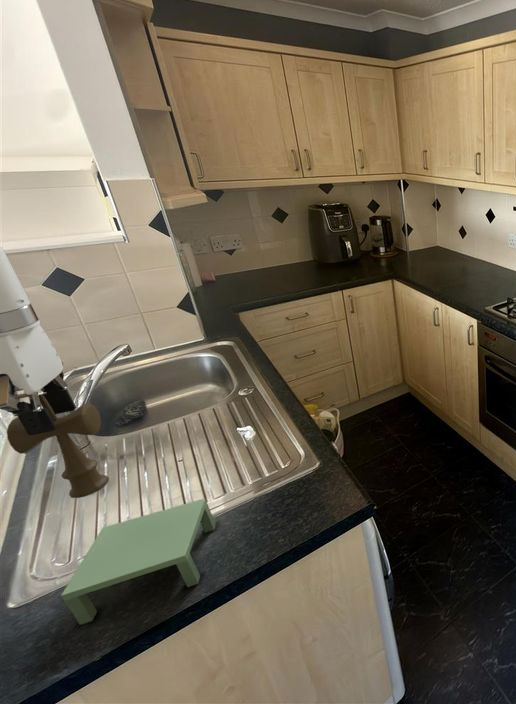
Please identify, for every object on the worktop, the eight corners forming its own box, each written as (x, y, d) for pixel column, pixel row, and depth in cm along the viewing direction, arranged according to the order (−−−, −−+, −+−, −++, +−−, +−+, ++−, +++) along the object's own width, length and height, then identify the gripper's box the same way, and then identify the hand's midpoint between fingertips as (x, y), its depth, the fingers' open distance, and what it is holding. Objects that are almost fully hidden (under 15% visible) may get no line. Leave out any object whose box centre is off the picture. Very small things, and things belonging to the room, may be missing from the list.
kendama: (62, 489, 74) (8, 394, 66) (130, 469, 78) (86, 378, 71) (47, 512, 69) (-14, 412, 62) (120, 489, 73) (71, 394, 66)
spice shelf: (79, 625, 65) (60, 595, 63) (117, 554, 77) (102, 527, 75) (198, 583, 71) (184, 555, 69) (215, 524, 83) (205, 498, 81)
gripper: (3, 309, 67) (52, 402, 74) (-84, 348, 53) (-13, 459, 59) (62, 301, 70) (105, 392, 77) (-4, 336, 55) (55, 444, 62)
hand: (53, 420), depth 68 cm, fingers closed on kendama, 5 cm apart
